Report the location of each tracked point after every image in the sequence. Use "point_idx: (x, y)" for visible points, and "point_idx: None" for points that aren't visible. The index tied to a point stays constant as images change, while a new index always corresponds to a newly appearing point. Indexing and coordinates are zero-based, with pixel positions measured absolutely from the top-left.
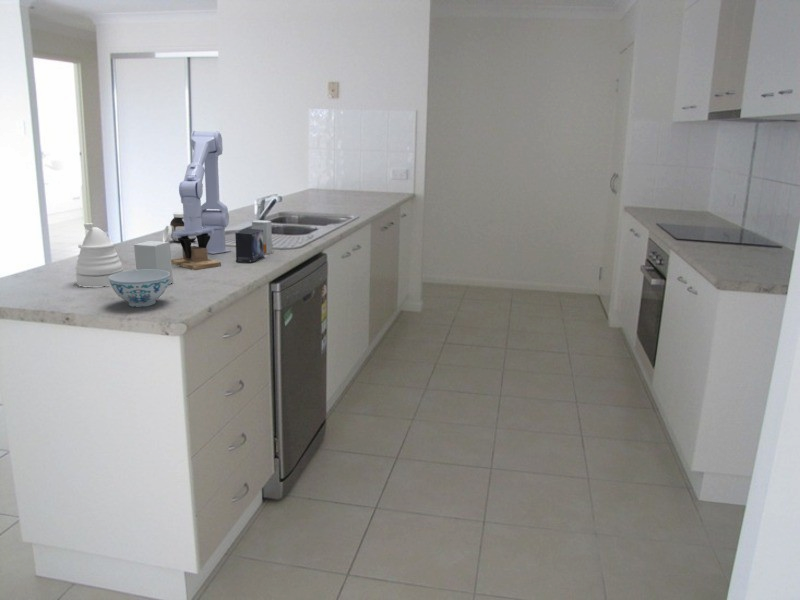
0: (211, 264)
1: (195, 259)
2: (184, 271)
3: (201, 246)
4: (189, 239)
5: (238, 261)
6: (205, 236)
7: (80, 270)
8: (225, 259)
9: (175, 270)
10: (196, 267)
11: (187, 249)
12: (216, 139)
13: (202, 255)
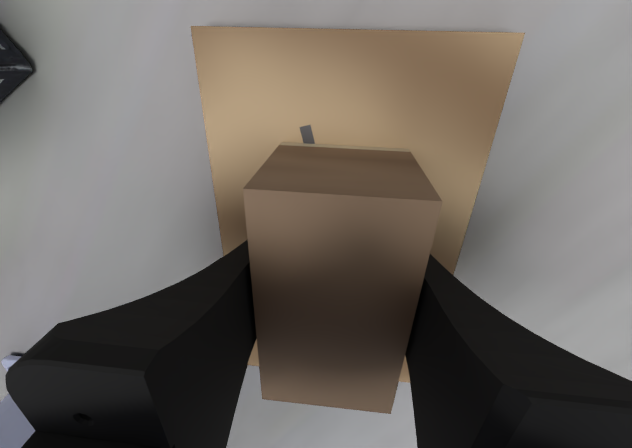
0: (305, 28)
1: (416, 163)
2: (604, 61)
3: (244, 312)
4: (580, 401)
5: (8, 42)
6: (128, 372)
7: None
8: (88, 223)
9: (598, 163)
10: (491, 33)
11: (474, 297)
12: None
13: (328, 165)
